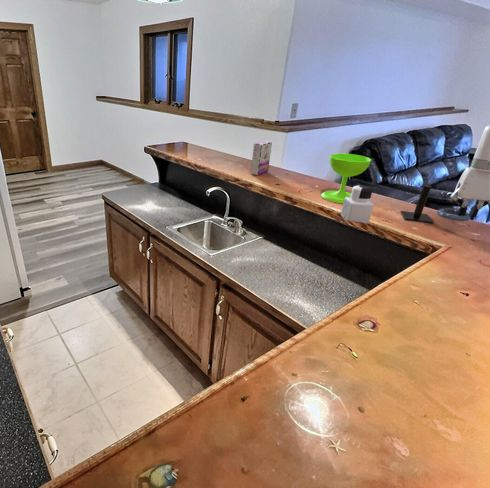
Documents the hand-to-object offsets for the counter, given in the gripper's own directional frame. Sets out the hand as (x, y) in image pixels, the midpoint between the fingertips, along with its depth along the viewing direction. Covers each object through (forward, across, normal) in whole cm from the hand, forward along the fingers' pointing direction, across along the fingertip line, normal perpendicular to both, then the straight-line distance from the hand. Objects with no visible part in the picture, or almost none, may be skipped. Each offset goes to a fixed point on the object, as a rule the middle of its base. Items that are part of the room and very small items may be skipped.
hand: (465, 217), depth 120 cm
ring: (-1, +4, 0) cm, 4 cm away
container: (+6, +34, +1) cm, 34 cm away
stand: (+6, +12, -9) cm, 16 cm away
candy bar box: (+4, +78, -52) cm, 94 cm away
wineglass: (+5, +38, -25) cm, 46 cm away
